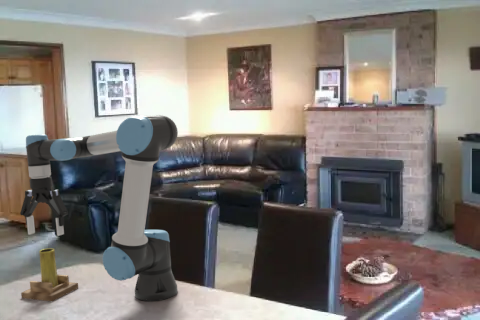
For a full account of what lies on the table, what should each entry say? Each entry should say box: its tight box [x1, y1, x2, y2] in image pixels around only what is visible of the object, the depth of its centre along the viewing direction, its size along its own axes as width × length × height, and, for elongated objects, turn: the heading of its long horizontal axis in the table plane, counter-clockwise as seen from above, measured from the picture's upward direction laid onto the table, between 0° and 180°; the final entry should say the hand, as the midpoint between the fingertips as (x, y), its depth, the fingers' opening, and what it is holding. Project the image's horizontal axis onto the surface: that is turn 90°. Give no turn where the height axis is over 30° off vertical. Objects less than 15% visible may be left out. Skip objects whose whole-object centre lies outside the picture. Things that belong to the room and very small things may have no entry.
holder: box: [20, 273, 79, 302], centre depth 187 cm, size 14×14×6 cm
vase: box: [39, 247, 59, 287], centre depth 187 cm, size 6×6×14 cm
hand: (45, 234), depth 185 cm, fingers open, 13 cm apart
